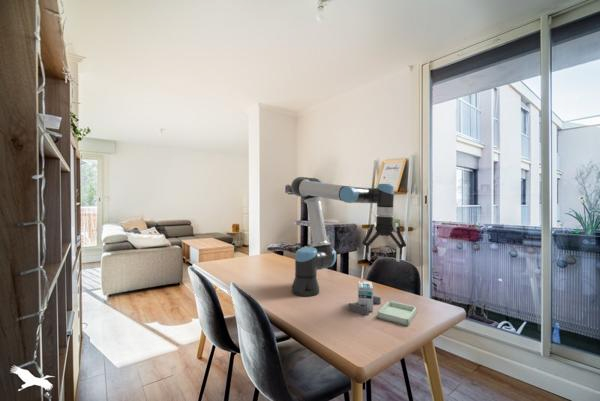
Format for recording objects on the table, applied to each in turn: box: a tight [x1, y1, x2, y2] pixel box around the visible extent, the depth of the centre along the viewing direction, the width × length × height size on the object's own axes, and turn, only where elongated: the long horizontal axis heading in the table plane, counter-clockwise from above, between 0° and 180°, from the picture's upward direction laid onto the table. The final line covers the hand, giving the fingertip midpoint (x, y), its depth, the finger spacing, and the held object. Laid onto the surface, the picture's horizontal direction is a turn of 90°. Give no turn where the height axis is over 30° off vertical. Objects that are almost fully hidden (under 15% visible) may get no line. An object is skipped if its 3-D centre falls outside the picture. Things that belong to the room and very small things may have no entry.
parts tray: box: [376, 300, 418, 327], centre depth 118 cm, size 13×17×2 cm
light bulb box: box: [357, 280, 374, 313], centre depth 127 cm, size 11×7×11 cm, turn 168°
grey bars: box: [348, 295, 382, 316], centre depth 127 cm, size 9×17×3 cm, turn 145°
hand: (383, 260), depth 128 cm, fingers open, 13 cm apart
